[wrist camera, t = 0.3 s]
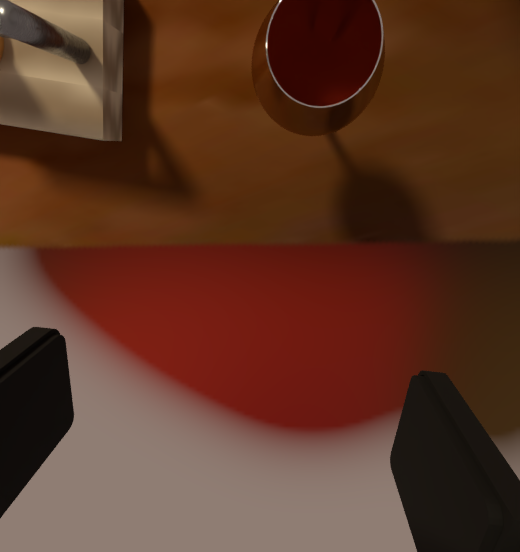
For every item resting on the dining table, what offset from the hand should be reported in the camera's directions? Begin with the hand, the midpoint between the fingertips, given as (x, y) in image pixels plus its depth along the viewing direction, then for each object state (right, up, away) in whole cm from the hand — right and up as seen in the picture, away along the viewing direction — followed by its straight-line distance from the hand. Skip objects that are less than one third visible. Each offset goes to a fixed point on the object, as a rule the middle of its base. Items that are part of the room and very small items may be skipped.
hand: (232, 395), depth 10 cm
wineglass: (+5, +21, +25) cm, 33 cm away
